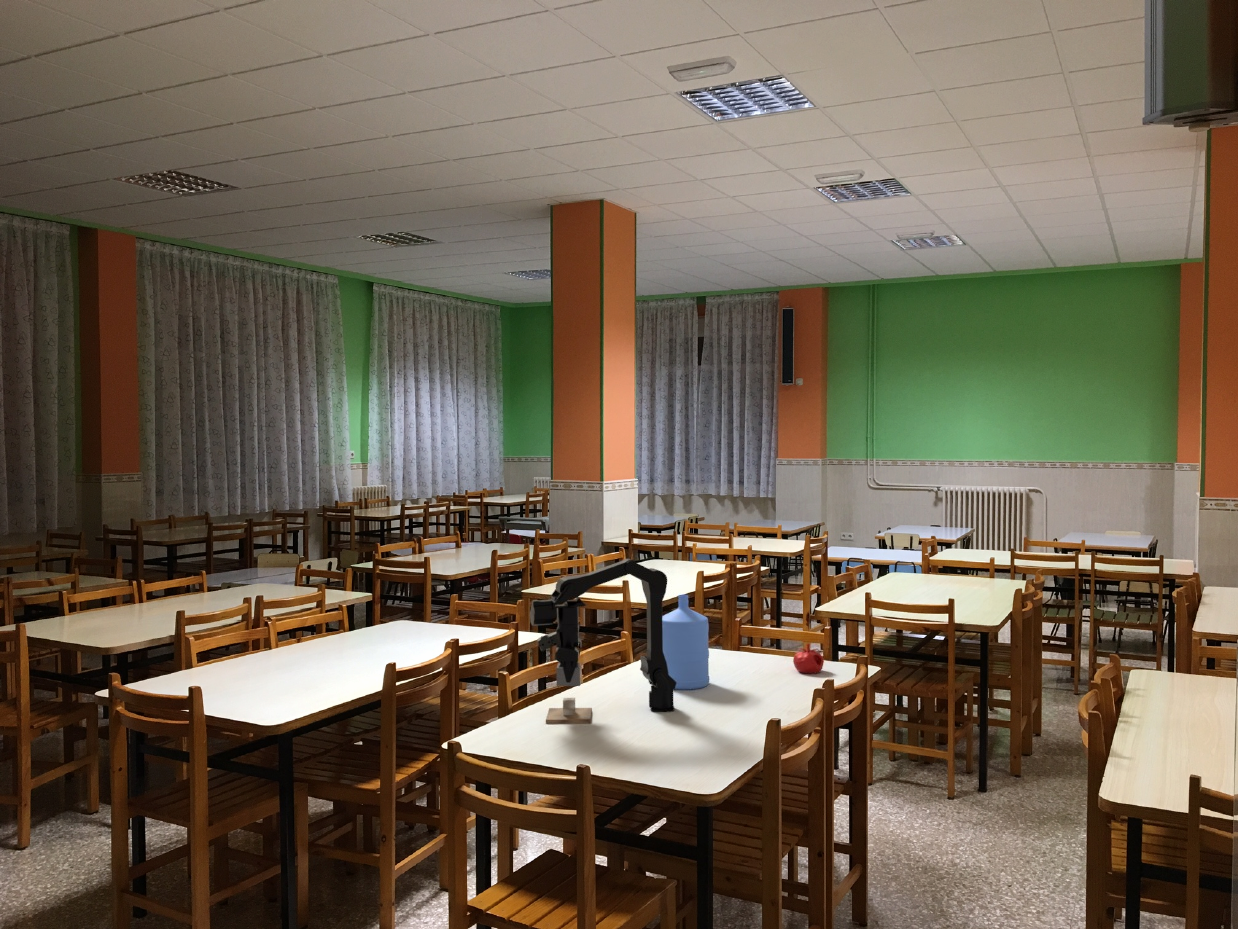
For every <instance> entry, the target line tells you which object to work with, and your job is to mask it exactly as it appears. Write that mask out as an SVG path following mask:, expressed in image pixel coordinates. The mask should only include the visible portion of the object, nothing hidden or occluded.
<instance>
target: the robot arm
mask: <svg viewBox="0 0 1238 929" xmlns="http://www.w3.org/2000/svg"><path fill="white" fill-rule="evenodd" d="M627 575H630V576H633V577H634V578H636V579H638V580H640V582H641V586H642V591H643V593H644V597H645V601H646V642H647V643H646V652H645V655H640V657H639V658H640V660H639V661H640V668H639V670H640V671H641V673H642V675H643V677H644V678H645V679H646V680H648V683H649V685H650V690H649V691H648V706H649V708H650V711H651V712H674V711H675V707H674V690H676V689H675V687H676V681H675V680H674V679H673V678H671V677H670V676H669V675H668V674H669V673H668V667H667V662H666V659H665V656H664V653H663V624H662V616H663V601H664V598H665V595H666V591H667V586H668V576H667V574H666V573H665V572H663V571H662V570H659V569H656V568H652V567H651V568H648V567H646V566H644V565H642V564H640V563H638V562H636V560H633V559H630V558H624V559H622V560H621V561H618V562H615V563H613V564H610V565H607V566H604V567H602V568H599V569H596V570H593V571H590V572H588V573H584V574H576V575H575V574H573V575H567V576H563V577H560V578H559V579H557V581H556V583H555V589H554V591H553V592H552V593H551V595H550V596H549V598H548V599H543V600H538V599H533V600H532V599H531V605H530V611H529V618H530V624H531V626H547V625H553V624H554V622H555V623H556V621H557V627H556V631H555V632H550V633H548V634H547V633H546V634H545V635H541V636H540V637H538V639H537V640H536V641H537V644H538V647H539V649H540V651H541V652H545V651H546V650H547V649H550V648H552V647H554V646H555V647H556V648H557V649H556V650H555V653H554V658H555V661H556V662H558V663H561V664H562V666H563V670H564V674H565V679H566V682H567V683H570V682H571V679H572V676H573V673H574V671H575V668H576V665H577V663H579V659H580V653H581V649H582V639H581V638H580V625H579V624H580V623H579V619H580V618H579V608H582V607H586V606H587V605H586V603H585V602H583V600H582V599H581V598H580V596H582V595H584V594H585V593H587V591H589V590H591V589H592V588H595V587H597V586H600V585H603V584H605V583H608V582H611V581H614V580H616V579H619V578H622V577H625V576H627Z"/></svg>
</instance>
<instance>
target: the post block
mask: <svg viewBox="0 0 1238 929" xmlns="http://www.w3.org/2000/svg"><path fill="white" fill-rule="evenodd" d="M592 710H593V708H592V707H576V697H563V699H562V707H549V708H548V711H547V715H546V718H545V724H590V723H591V721H590V720H592V712H593V711H592Z"/></svg>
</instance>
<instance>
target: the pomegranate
mask: <svg viewBox="0 0 1238 929" xmlns="http://www.w3.org/2000/svg"><path fill="white" fill-rule="evenodd" d="M806 646H807V647H806V648H802V647H799V648H798V647H797V649H798V652H796V653H795V654H794V656H793V661H792V663H793V665H794V667H795V669H796V670H797V671H798V672H799V673H802V674H818V673H820V672H821V671H823V667H824V663H825V660H824V656H823V655H822V654H821V653H820V652H818V651H819V649H818V648H813V649H811V648H810V647H811V644H810V643H806ZM797 649H796V650H797ZM801 650H802V651H801Z"/></svg>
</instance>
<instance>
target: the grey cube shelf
mask: <svg viewBox="0 0 1238 929" xmlns="http://www.w3.org/2000/svg"><path fill="white" fill-rule="evenodd" d="M556 665H557V666H556V687H581V685H582V684H581V682H582V662H577V665H576V668H575V671H574V673H573V676H572V679H571V682H570V683H567V682H566V679H565V674H564V670H563V666H562V664H561V663H560V662H558V663H557V664H556Z"/></svg>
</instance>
